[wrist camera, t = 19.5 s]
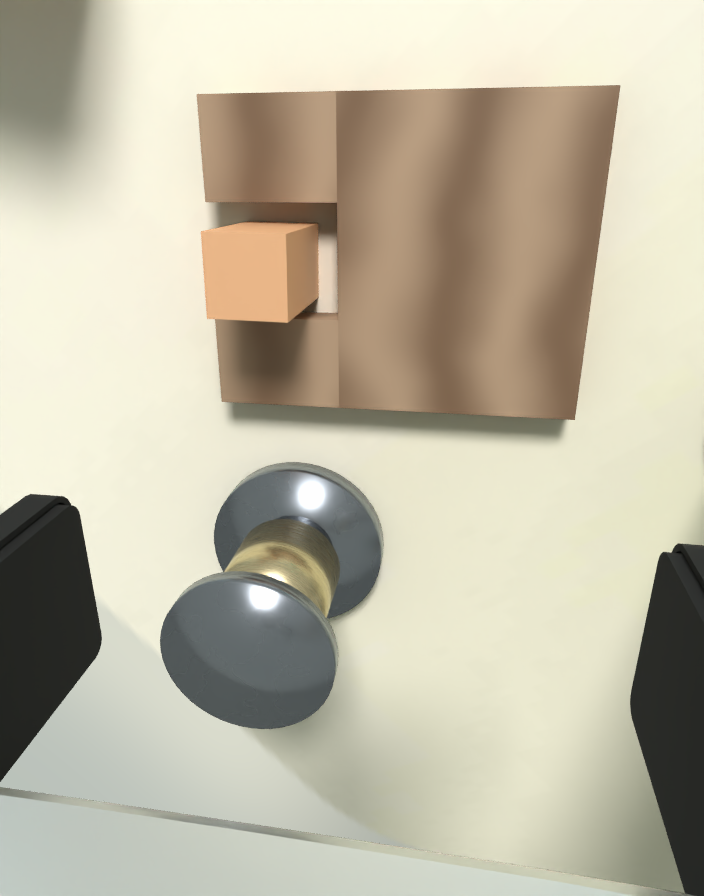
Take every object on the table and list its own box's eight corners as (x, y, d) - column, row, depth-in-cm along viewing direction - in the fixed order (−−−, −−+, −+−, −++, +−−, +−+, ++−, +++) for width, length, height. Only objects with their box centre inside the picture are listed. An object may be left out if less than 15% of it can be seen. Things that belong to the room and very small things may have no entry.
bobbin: (385, 467, 41) (354, 575, 30) (382, 614, 45) (354, 755, 34) (215, 457, 42) (128, 555, 31) (228, 599, 47) (154, 729, 36)
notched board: (611, 90, 31) (620, 85, 30) (569, 407, 37) (574, 419, 36) (211, 98, 34) (196, 94, 32) (232, 391, 40) (221, 401, 39)
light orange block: (318, 223, 36) (285, 233, 30) (318, 297, 37) (287, 322, 31) (247, 221, 36) (200, 231, 30) (250, 294, 38) (206, 318, 32)
